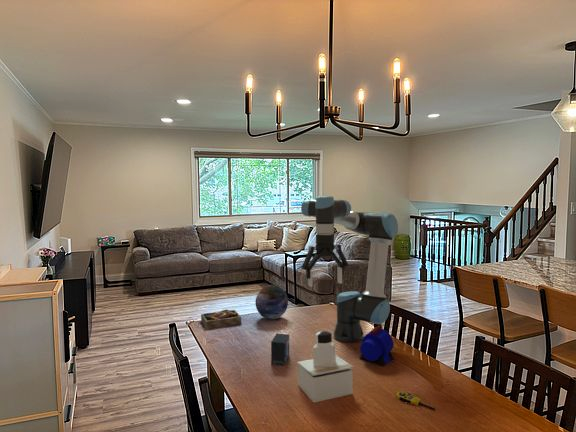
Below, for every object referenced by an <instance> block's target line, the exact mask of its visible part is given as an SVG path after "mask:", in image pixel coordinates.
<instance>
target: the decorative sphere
mask: <svg viewBox="0 0 576 432" xmlns="http://www.w3.org/2000/svg"><path fill="white" fill-rule="evenodd" d="M288 303H289V298H288V295H287V293H286V291H285V290H284V289H283V288H282V287H280V286H279V285H276V284H267V285H265V286H263V287H262V288H260V289H259V291H258V292H257V294H256V297H255V308H256V310H257V312H258V313H259V315H260V316H261V317H263V318H264V319H267V320H270V321H271V320H272V321H273V320H277V319H279V318H281V317H282V316H283V315H284V314H285V313H286V311H287V309H288V306H289V304H288Z"/></svg>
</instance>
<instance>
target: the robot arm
mask: <svg viewBox="0 0 576 432" xmlns="http://www.w3.org/2000/svg"><path fill="white" fill-rule="evenodd" d="M300 210H301V211H300V212H301V213H302V215H303V216H305V217H313V218H315V233H316V235H315V246H312V245H309V246H308V251H307V254H306V256H305V258H304V261H303V262H302V265H301V269H302V270H304V271H305V277H306V279H307V285H308V287H310V288H312V287H313V274H314V273H313V270H312V269H313V268H314V267H315V264H317V262H318V261H319V259H320V258H321V257H323V258H325V257H331V258H332V260H334V262H335V263H336V264H337V267H336V268H337V273H336V276H337V279H336V280H337V281H336V282H337V283H338V284H343V276H344V274H345V273H344V272H345V268H346V267H348V266H349V263H348V260H347V258H346V257H345V255H344V252H343V250H342V245H341V244H339V243H336V244H335V235H334V233H335V224H336V225H339V226H341V227H342V226H343V227H344V228H345V229H346V230H348V231H351V232H354V233H356V234H357V233H358V234H359V235H364V236H368V240H369V241H370V249H369V255H368V256H369V257H368V267H367V276H366V284H365V286H366V287H365V290H364V291H363V292H362V293H360V292H359V291H356V290H355V291H352V290H351V291H343V292H340V293H338V295H337V296H336V324H335V326H334V327H335V328H334V330H333V338H334V339H335V340H336V341H339V342H344V343H356V342H357V343H358V342H360V341H362V340H363V337H364V331H363V328H362V325H361V321H362V322H366V323H371V324H372V325H373V324H374V325H382V324H383V323H385V322H386V321H387V319H388V317H389V314H390V310H391V306H390V305H391V304H390V302H389V301H388V300H387V296H386V295H385V290H384V289H385V280H386V274H387V273H386V271H387V262H388V253H389V245H390V243H392V242H393V238H396V237H397V236H398V232H399V223H398V220H397V217H396V216H395V215H394V214H393V213H389V212H368V211H366V212H365V211H364V212H362V211H361V212H358V211H353V210H352V206H351V203H350V202H349V201H348V200H346V199H338V200H337V199H335V198H334V196H330V195H329V196H328V195H327V196H324V195H323V196H317V197H316V198H315V199H305V200H303V201H302V203H301V206H300ZM334 250H336V253H337V255H338V256H337V255H336V253H335V252H334ZM315 251H316V252H315ZM314 252H315V253H314ZM313 254H314V255H313ZM312 257H313V258H312ZM338 257H339V258H338Z"/></svg>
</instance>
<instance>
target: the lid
mask: <svg viewBox="0 0 576 432" xmlns="http://www.w3.org/2000/svg"><path fill="white" fill-rule="evenodd" d="M298 364H299V365H300V366H301V367H302V368H304V369H305V370H306V371H307V372H308V373H310V374H311V375H312V376H315V375H320V374H326V373H331V372H336V371H341V370H346V369H351V370H352V369H354V366H353V364H350V363H349V362H347V361H345V360H344V359H342V358H341V357H339V356H338V355H336V362H335V363H334V365H333V366H332V368H329V367H316V366H313V358H312V359H307V360H301V361H297V365H298Z"/></svg>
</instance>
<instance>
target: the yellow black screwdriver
mask: <svg viewBox="0 0 576 432" xmlns="http://www.w3.org/2000/svg"><path fill="white" fill-rule="evenodd" d="M395 398H396V399H398V400H399V401H401V402H403V403H405V402H407V403H406V404H408V403H410V404H409V405H412V404H413V406H423V407H426V408H428V409H430V410H434V411H436V408H435V407H432V406H431V405H430V406H429V405H427V404H425V403H423V402H421V401H422V400H421V398H419V397H418V396H416V395H414V394H412V393H408V392H403V391H398V392H396V393H395ZM418 404H419V405H418ZM420 404H421V405H420Z"/></svg>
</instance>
